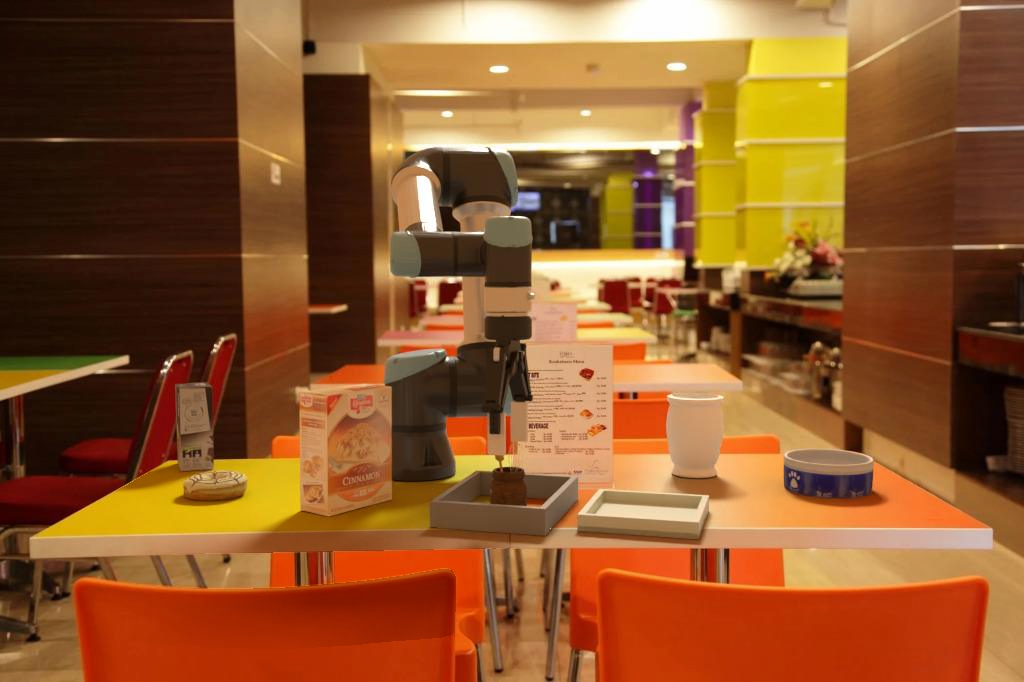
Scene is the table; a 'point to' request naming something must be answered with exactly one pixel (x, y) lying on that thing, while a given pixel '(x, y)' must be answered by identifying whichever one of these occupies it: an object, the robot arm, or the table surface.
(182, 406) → the coffee box
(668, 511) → the tray
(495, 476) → the brown container
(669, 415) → the jar
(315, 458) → the coffeecake box
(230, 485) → the decorated donut
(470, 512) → the bottomless rectangular frame
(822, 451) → the dog bowl
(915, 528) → the table surface
